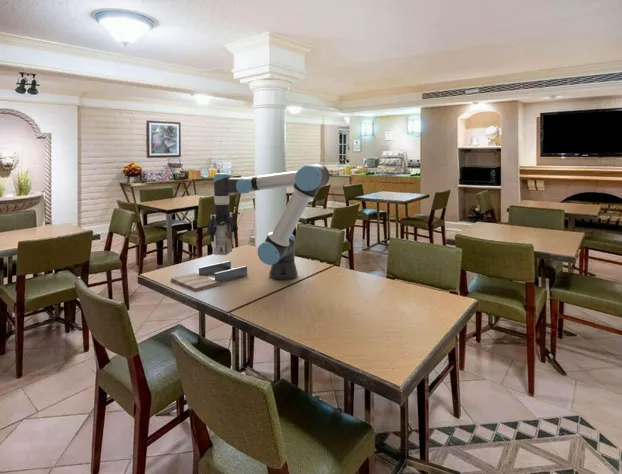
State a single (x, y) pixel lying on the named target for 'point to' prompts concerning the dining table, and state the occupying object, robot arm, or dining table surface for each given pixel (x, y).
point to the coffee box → (223, 239)
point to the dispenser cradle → (223, 271)
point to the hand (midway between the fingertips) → (223, 245)
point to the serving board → (195, 281)
